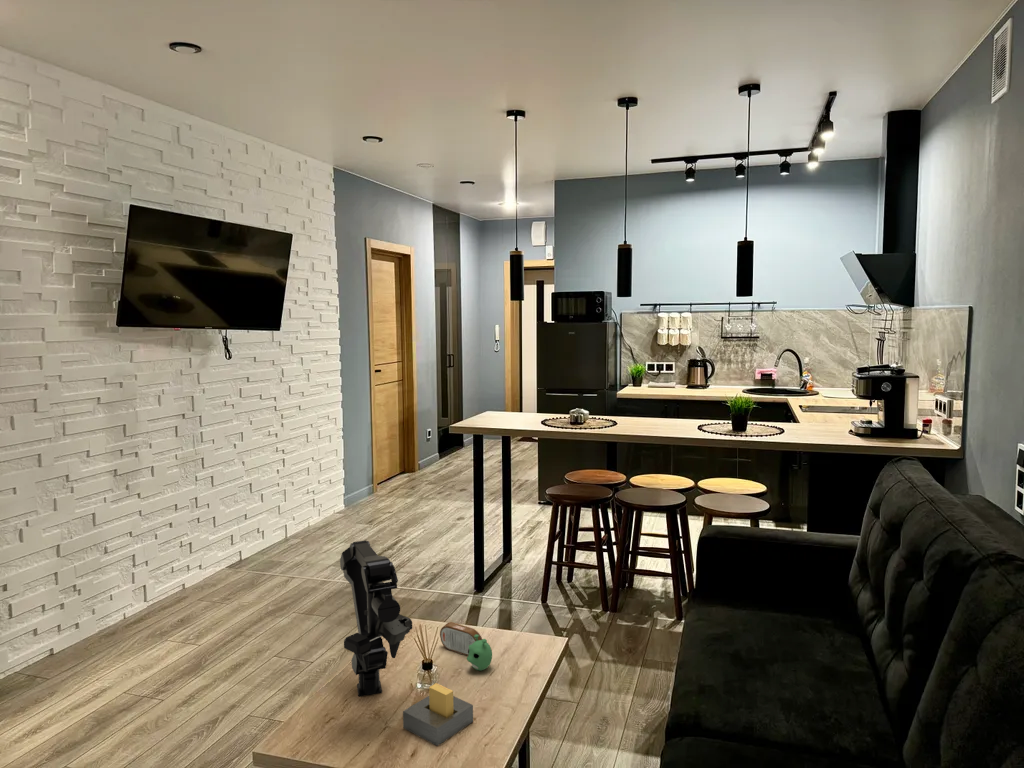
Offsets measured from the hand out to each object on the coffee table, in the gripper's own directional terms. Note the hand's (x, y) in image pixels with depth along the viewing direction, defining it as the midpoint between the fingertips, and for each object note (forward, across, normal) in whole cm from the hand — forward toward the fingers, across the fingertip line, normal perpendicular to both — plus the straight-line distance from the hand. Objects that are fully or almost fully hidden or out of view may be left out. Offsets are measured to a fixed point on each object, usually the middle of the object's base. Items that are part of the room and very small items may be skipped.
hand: (380, 664), depth 183 cm
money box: (+13, +5, -16) cm, 21 cm away
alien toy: (+13, +33, -6) cm, 36 cm away
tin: (+13, +37, +6) cm, 40 cm away
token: (+13, +5, -17) cm, 22 cm away
